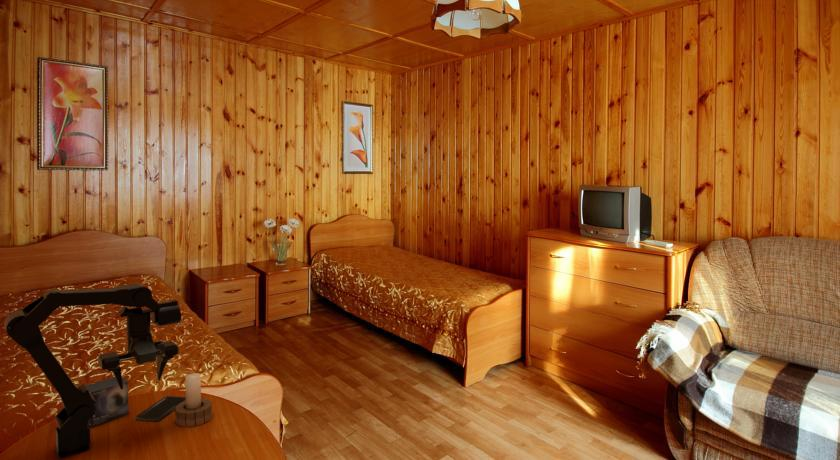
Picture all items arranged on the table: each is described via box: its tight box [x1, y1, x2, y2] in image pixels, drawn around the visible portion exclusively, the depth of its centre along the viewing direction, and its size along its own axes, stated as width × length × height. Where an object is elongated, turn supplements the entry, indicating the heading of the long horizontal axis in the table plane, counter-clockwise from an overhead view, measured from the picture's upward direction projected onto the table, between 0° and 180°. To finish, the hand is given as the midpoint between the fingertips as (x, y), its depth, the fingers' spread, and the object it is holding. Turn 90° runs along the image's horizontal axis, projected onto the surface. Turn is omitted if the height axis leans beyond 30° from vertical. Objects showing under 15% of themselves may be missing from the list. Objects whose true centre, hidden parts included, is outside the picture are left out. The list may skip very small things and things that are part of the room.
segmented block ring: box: [174, 397, 213, 428], centre depth 143 cm, size 10×10×4 cm
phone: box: [135, 395, 186, 423], centre depth 148 cm, size 8×1×15 cm
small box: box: [85, 376, 130, 428], centre depth 142 cm, size 11×6×10 cm, turn 148°
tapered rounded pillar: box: [185, 372, 202, 410], centre depth 143 cm, size 4×4×13 cm
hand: (140, 384), depth 135 cm, fingers open, 9 cm apart
